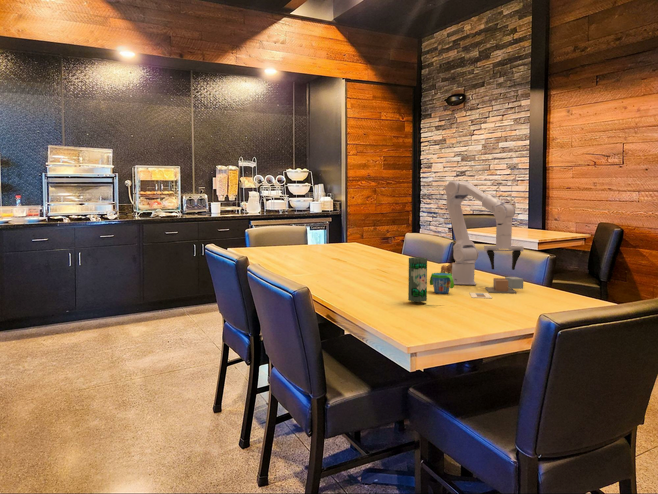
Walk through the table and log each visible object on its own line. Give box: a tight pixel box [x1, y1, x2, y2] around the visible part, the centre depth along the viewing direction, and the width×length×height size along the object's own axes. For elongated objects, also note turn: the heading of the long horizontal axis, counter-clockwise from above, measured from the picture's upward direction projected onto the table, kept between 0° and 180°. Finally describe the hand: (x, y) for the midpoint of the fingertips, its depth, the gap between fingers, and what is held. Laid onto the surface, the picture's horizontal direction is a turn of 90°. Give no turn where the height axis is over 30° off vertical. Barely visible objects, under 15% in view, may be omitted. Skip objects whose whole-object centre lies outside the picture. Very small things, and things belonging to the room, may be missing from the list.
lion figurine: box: [440, 262, 453, 274], centre depth 235 cm, size 12×4×7 cm, turn 32°
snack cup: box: [429, 272, 455, 295], centre depth 190 cm, size 11×8×7 cm
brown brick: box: [492, 277, 509, 291], centre depth 194 cm, size 4×7×4 cm, turn 170°
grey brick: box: [504, 276, 524, 290], centre depth 203 cm, size 4×7×4 cm, turn 5°
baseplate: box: [485, 286, 517, 295], centre depth 194 cm, size 10×10×1 cm
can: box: [407, 256, 428, 303], centre depth 175 cm, size 6×6×15 cm
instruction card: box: [469, 292, 493, 299], centre depth 184 cm, size 7×10×1 cm
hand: (502, 269), depth 195 cm, fingers open, 7 cm apart
